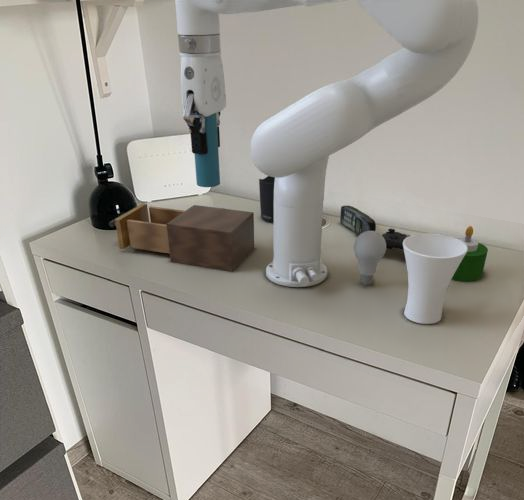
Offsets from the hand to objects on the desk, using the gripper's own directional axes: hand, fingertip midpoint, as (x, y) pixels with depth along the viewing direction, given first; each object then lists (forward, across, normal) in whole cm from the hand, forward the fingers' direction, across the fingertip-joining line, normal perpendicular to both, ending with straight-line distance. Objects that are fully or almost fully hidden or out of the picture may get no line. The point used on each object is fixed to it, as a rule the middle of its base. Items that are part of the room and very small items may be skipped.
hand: (206, 149), depth 109 cm
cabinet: (+23, 0, 0) cm, 23 cm away
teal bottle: (+7, 0, 0) cm, 7 cm away
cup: (+23, -11, -47) cm, 53 cm away
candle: (+23, +10, -52) cm, 58 cm away
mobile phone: (+23, +24, -27) cm, 43 cm away
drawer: (+22, 0, +16) cm, 27 cm away
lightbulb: (+23, -2, -35) cm, 42 cm away
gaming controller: (+23, +12, -39) cm, 47 cm away
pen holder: (+23, +27, -6) cm, 36 cm away
